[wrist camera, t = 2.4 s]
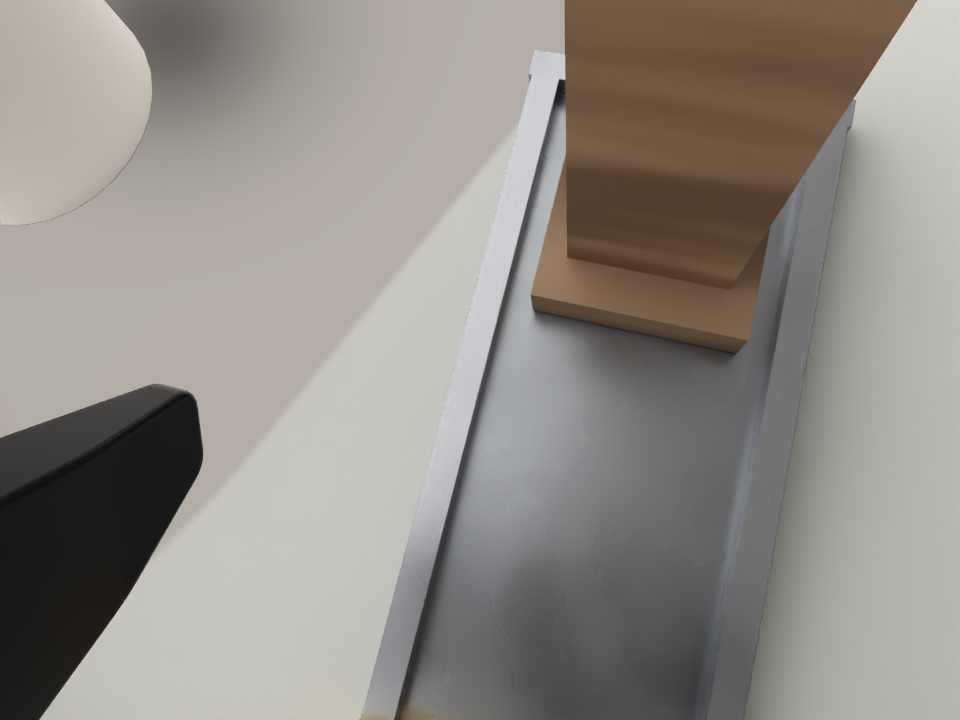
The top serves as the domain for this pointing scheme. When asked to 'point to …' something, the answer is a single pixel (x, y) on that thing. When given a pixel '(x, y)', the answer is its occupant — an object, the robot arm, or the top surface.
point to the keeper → (692, 151)
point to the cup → (66, 105)
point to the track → (599, 483)
